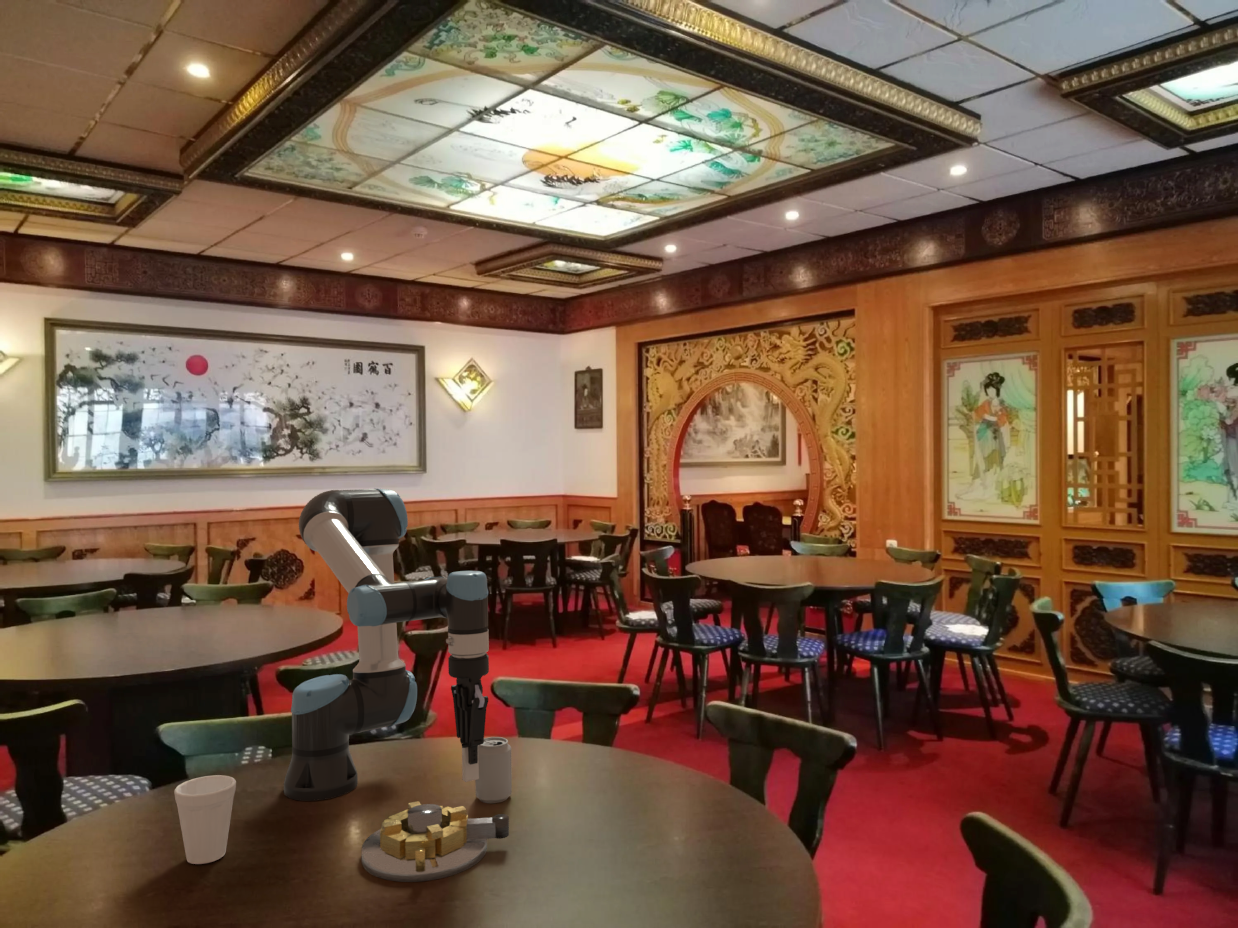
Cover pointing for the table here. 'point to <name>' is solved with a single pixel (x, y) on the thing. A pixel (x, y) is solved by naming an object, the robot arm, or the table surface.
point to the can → (494, 770)
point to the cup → (205, 816)
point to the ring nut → (439, 832)
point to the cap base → (409, 865)
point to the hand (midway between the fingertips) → (470, 779)
